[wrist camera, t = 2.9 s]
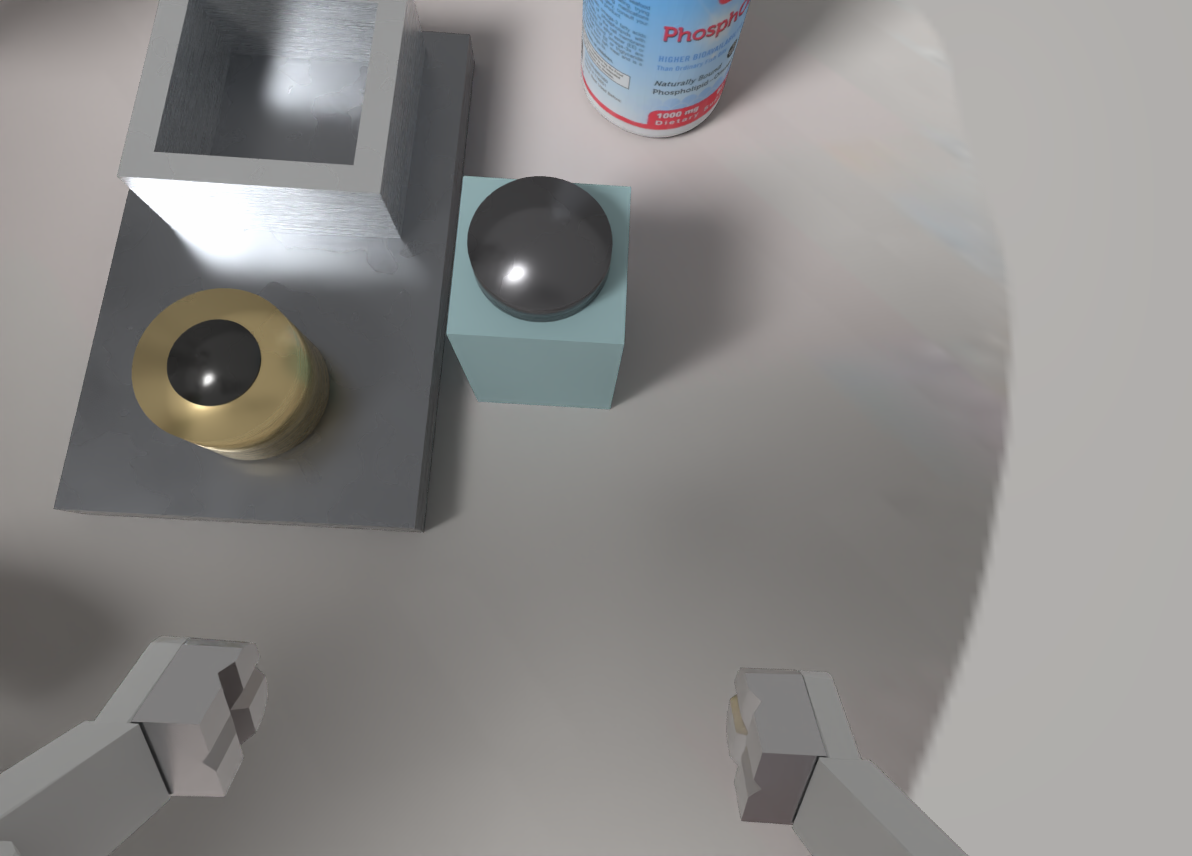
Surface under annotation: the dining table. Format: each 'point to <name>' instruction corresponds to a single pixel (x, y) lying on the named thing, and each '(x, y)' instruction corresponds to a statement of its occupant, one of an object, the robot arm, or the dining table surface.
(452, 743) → the dining table surface
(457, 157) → the plate
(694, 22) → the pill bottle
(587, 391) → the teal block with dome
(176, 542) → the dining table surface
